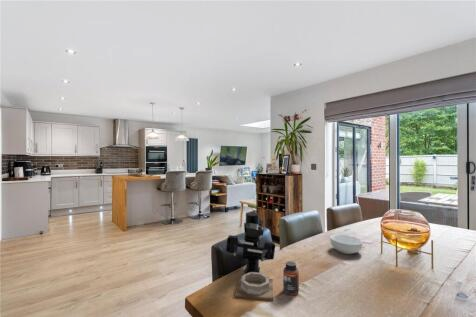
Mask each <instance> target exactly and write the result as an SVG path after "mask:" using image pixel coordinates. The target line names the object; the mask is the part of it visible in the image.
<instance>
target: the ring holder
mask: <svg viewBox="0 0 476 317" xmlns="http://www.w3.org/2000/svg"><path fill="white" fill-rule="evenodd" d="M273 284H274V283H273V278H270V277H269V276H268V275H266V274H264V273H263V272H259V273H257V272H249V273H244V274H242V275H241V276H239V278H238V283H237V286H236V290H235V298H237V299H246V300H247V299H248V300H249V299H250V300H258V301H269V302H271V301H272V302H273V301H274V289H273V288H274V286H273Z"/></svg>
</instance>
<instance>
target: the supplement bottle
mask: <svg viewBox="0 0 476 317" xmlns="http://www.w3.org/2000/svg"><path fill="white" fill-rule="evenodd" d="M282 272H283V273H282V274H283V280H282V283H283V285H282V286H283V287H282V289H283V293H284V294H285V295H287V296H297V295H298V294H299V292H300V291H299V289H300V288H299V287H300V286H299V284H300V281H299V280H300V279H299V278H300V276H299V275H300V274H299V273H300V272H299V268H297V263H296V262H294V261H292V260H291V261H286V262H285V267H284V268H283V271H282Z"/></svg>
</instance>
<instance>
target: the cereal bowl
mask: <svg viewBox="0 0 476 317" xmlns="http://www.w3.org/2000/svg"><path fill="white" fill-rule="evenodd" d="M329 237H330V238H329V239H330V240H329V241H330V245H331V246H332V248H334V249H335V250H336V251H338V252H339V253H342V254H345V255H352V254H356V253H359V252H360V251H361V250H362V248H363V241H362V240H361V239H360V238H357V237H355V236H353V235H352V236H351V235H347V234H346V235H345V234H333V235H331V236H329Z"/></svg>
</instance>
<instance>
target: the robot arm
mask: <svg viewBox="0 0 476 317" xmlns="http://www.w3.org/2000/svg"><path fill="white" fill-rule="evenodd" d="M243 225H244V226H243V230H244V237H243V240H241V239H240V240H239V236H238V235H231V234H229V235H228V236H227V239H226V247H225V252H227V253H229V254H231V255H233V256H234V257H235V258H237V257H238V248H242V254H243V255H242V257H243V258H242V259H243V260H246V263H245V264H246V265H245V271H244V274H247V273H249V272H257V273H261V272H260V270H261V269H260V268H261V267H260V264H259V263H260V262H265V261H267V260H268V261H270V260H272V261H273V260H274V258H275V253H276V252H275V251H276V244H275V242H273V241H267V240H265V242H264V244H263V246H262V245H261V239H260V237H261V236H262V237H263V236H264V230H265V227H264V221H262V220H261V216H260V213H259V212H257V211H256V210H255V211H248V212H245V222H244V223H243Z"/></svg>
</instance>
